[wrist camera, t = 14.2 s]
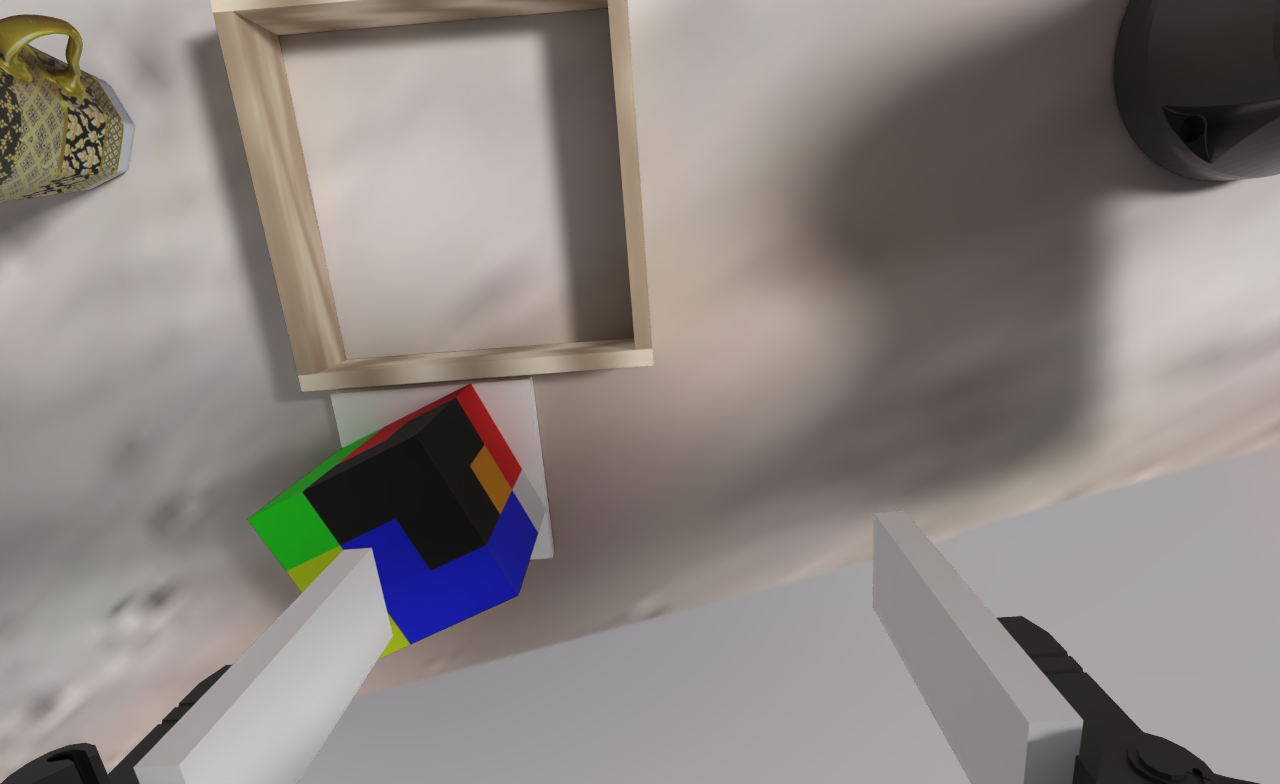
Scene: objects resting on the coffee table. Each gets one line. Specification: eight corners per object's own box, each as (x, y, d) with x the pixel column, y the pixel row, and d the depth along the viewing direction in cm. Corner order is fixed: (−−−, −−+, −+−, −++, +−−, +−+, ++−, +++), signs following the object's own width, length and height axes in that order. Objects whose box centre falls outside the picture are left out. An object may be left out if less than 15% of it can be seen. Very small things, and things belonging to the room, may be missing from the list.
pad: (532, 375, 40) (529, 379, 39) (554, 550, 43) (552, 558, 42) (337, 390, 40) (329, 394, 39) (375, 563, 43) (369, 571, 42)
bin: (625, -14, 34) (624, -46, 30) (651, 351, 39) (653, 365, 35) (256, 16, 34) (207, -10, 30) (334, 375, 40) (301, 391, 36)
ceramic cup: (62, 243, 37) (-138, 248, 28) (-47, 80, 35) (-308, 24, 25) (240, 154, 36) (95, 127, 26) (140, -22, 33) (-61, -122, 24)
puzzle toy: (546, 509, 41) (518, 595, 31) (421, 567, 42) (358, 668, 33) (470, 383, 39) (415, 434, 29) (341, 448, 40) (247, 519, 30)
